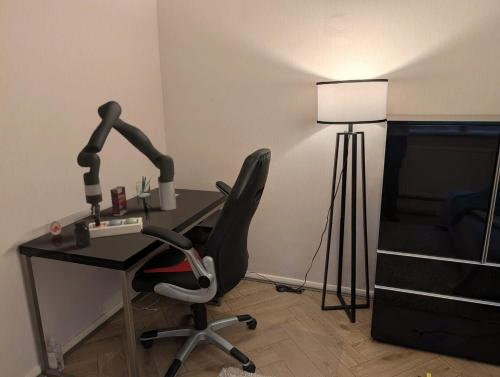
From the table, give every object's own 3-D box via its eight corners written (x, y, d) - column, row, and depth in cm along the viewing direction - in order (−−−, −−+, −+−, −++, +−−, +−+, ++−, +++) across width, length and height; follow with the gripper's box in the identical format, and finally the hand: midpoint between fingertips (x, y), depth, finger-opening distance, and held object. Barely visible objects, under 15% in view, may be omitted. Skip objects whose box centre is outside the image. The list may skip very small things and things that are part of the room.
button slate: (121, 223, 185) (120, 218, 185) (120, 227, 180) (119, 222, 179) (110, 224, 184) (109, 220, 183) (108, 228, 179) (108, 223, 178)
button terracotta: (105, 228, 184) (104, 223, 183) (104, 231, 178) (103, 226, 178) (94, 229, 182) (93, 224, 182) (92, 233, 177) (91, 228, 176)
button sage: (137, 221, 187) (136, 217, 187) (137, 225, 182) (136, 220, 181) (126, 223, 186) (125, 218, 185) (125, 226, 181) (124, 221, 180)
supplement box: (120, 216, 207) (117, 189, 203) (113, 215, 208) (109, 189, 204) (128, 211, 215) (125, 186, 212) (121, 211, 216) (117, 186, 213)
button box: (142, 224, 192) (141, 217, 191) (141, 231, 180) (141, 224, 179) (90, 230, 185) (89, 223, 184) (86, 238, 174) (85, 230, 173)
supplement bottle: (78, 243, 168) (75, 219, 166) (93, 242, 169) (90, 218, 166) (73, 248, 162) (69, 224, 159) (88, 247, 162) (84, 223, 159)
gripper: (99, 195, 170) (104, 229, 174) (103, 189, 183) (107, 220, 187) (82, 196, 168) (87, 231, 173) (87, 190, 181) (92, 222, 185)
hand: (98, 225), depth 180 cm, fingers closed
